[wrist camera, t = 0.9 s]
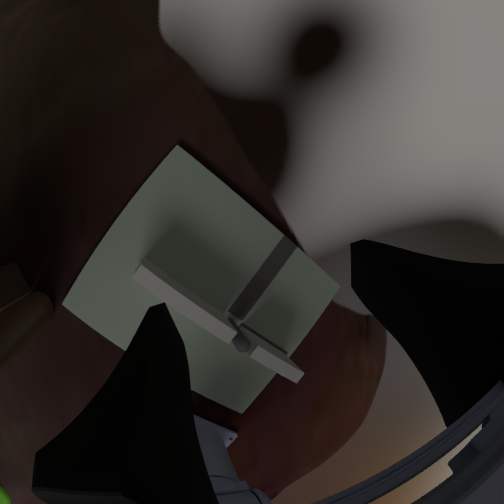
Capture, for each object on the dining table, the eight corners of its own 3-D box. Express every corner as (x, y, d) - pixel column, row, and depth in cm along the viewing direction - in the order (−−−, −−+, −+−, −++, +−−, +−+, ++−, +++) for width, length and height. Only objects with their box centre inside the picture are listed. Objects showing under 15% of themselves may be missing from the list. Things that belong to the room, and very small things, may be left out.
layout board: (240, 409, 29) (242, 413, 28) (64, 301, 22) (61, 304, 22) (336, 284, 31) (341, 286, 30) (176, 146, 24) (177, 144, 24)
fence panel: (224, 315, 26) (237, 332, 22) (217, 325, 26) (228, 344, 22) (144, 256, 23) (141, 264, 19) (136, 267, 23) (131, 277, 19)
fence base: (276, 361, 29) (298, 385, 24) (219, 325, 27) (233, 348, 22) (283, 352, 29) (306, 374, 24) (227, 315, 27) (242, 336, 22)
